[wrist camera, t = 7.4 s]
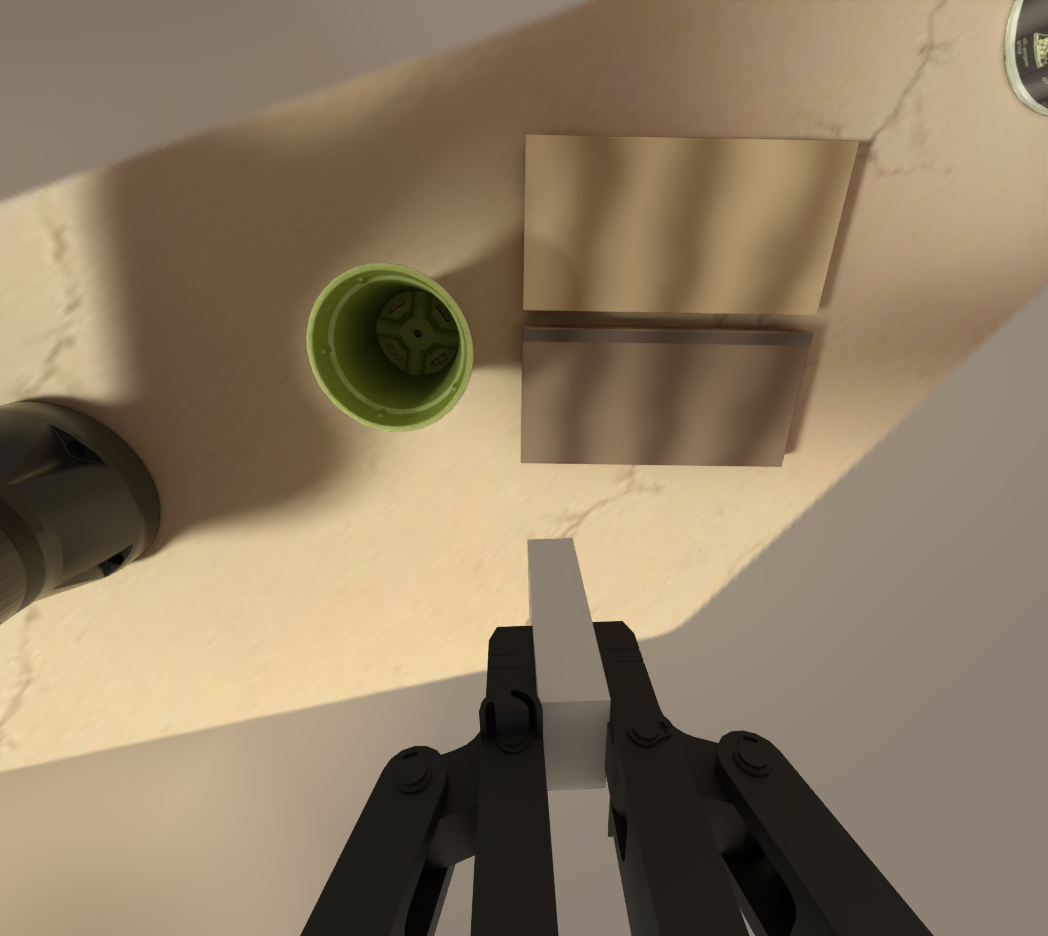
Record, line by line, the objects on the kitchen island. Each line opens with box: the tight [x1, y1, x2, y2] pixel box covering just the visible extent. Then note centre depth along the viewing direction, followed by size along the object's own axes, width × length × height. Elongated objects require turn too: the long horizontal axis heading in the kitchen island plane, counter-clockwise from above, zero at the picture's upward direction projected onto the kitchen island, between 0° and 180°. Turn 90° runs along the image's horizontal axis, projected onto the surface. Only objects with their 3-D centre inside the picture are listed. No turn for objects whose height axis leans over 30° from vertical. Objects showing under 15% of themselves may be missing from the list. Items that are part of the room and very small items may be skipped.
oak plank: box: [523, 135, 859, 315], centre depth 32 cm, size 20×10×2 cm, turn 89°
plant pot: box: [306, 263, 473, 432], centre depth 32 cm, size 9×9×9 cm
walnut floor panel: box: [521, 325, 813, 467], centre depth 36 cm, size 20×10×2 cm, turn 89°
